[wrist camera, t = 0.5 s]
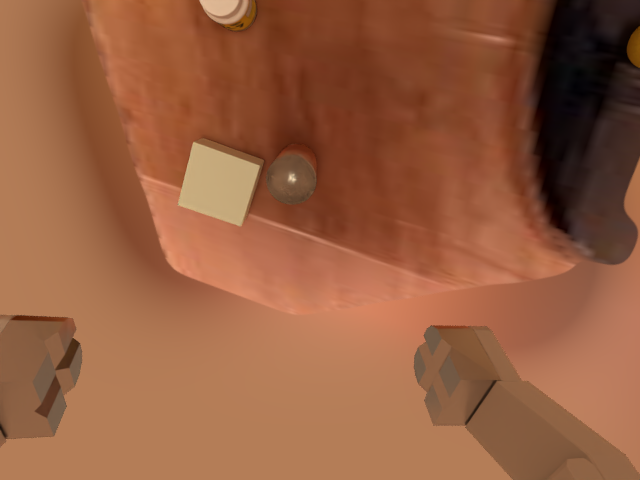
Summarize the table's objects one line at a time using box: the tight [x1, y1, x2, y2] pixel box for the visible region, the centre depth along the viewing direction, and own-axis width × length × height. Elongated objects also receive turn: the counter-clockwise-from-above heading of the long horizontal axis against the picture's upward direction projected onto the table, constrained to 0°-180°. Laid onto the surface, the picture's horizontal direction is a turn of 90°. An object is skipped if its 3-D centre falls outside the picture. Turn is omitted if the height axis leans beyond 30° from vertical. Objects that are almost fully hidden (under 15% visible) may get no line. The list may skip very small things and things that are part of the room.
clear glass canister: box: [266, 143, 317, 204], centre depth 47 cm, size 5×5×10 cm
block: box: [178, 138, 265, 226], centre depth 50 cm, size 8×8×4 cm
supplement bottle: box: [200, 0, 257, 31], centre depth 41 cm, size 5×5×8 cm
